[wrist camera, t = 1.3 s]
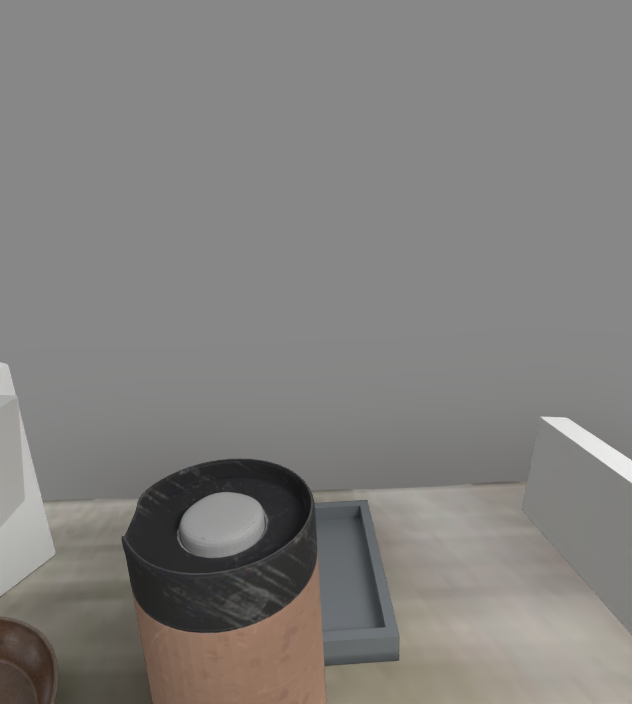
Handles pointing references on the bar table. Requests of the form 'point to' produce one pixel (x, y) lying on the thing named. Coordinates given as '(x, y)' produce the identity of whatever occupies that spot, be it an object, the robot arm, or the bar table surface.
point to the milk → (23, 518)
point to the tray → (353, 587)
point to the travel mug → (228, 586)
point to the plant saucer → (26, 665)
